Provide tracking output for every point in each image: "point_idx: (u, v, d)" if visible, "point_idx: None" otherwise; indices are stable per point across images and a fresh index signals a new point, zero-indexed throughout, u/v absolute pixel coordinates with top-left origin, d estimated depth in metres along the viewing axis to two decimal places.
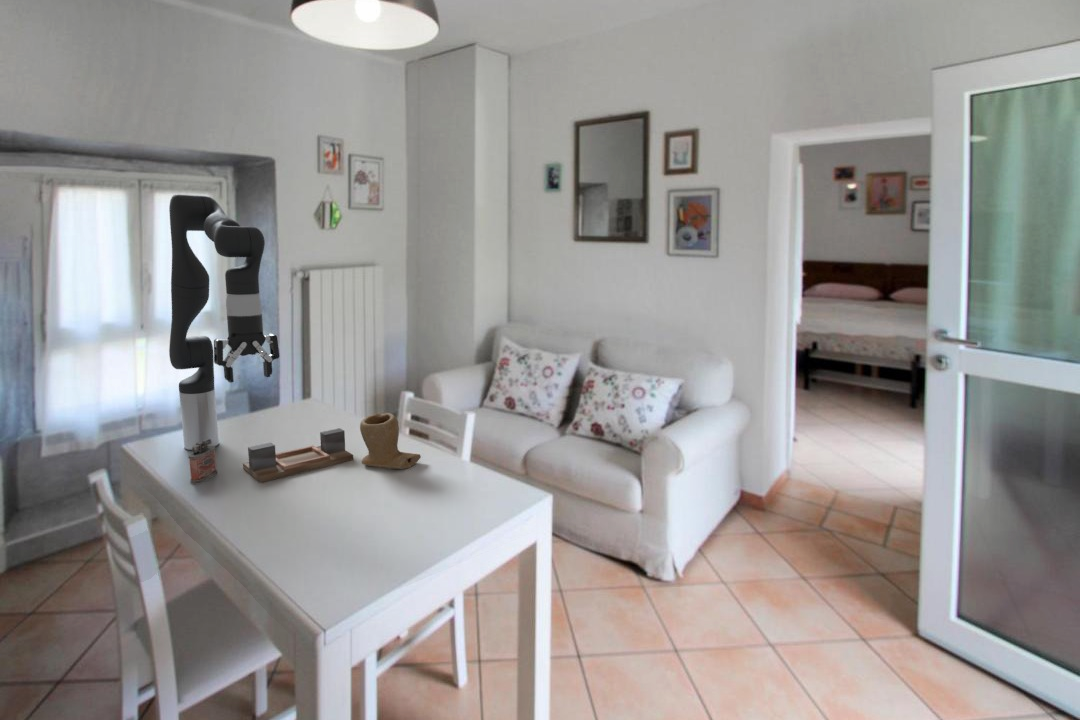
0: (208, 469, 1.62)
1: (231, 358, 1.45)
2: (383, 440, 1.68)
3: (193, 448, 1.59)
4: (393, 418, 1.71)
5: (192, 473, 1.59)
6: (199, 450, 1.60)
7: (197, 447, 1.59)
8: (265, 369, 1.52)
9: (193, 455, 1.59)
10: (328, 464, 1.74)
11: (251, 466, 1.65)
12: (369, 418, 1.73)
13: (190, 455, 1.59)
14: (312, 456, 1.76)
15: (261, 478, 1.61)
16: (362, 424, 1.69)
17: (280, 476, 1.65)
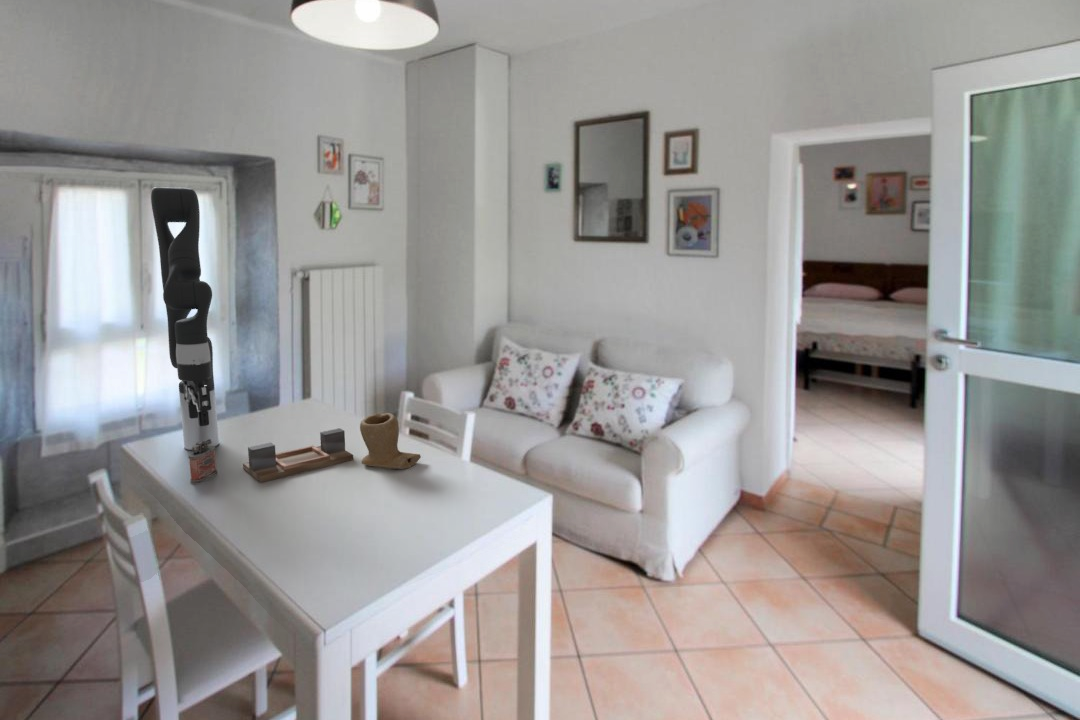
0: (208, 469, 1.62)
1: (207, 402, 1.57)
2: (383, 440, 1.68)
3: (193, 448, 1.59)
4: (393, 418, 1.71)
5: (192, 473, 1.59)
6: (199, 450, 1.60)
7: (197, 447, 1.59)
8: (193, 411, 1.62)
9: (193, 455, 1.59)
10: (328, 464, 1.74)
11: (251, 466, 1.65)
12: (369, 418, 1.73)
13: (190, 455, 1.59)
14: (312, 456, 1.76)
15: (261, 478, 1.61)
16: (362, 424, 1.69)
17: (280, 476, 1.65)
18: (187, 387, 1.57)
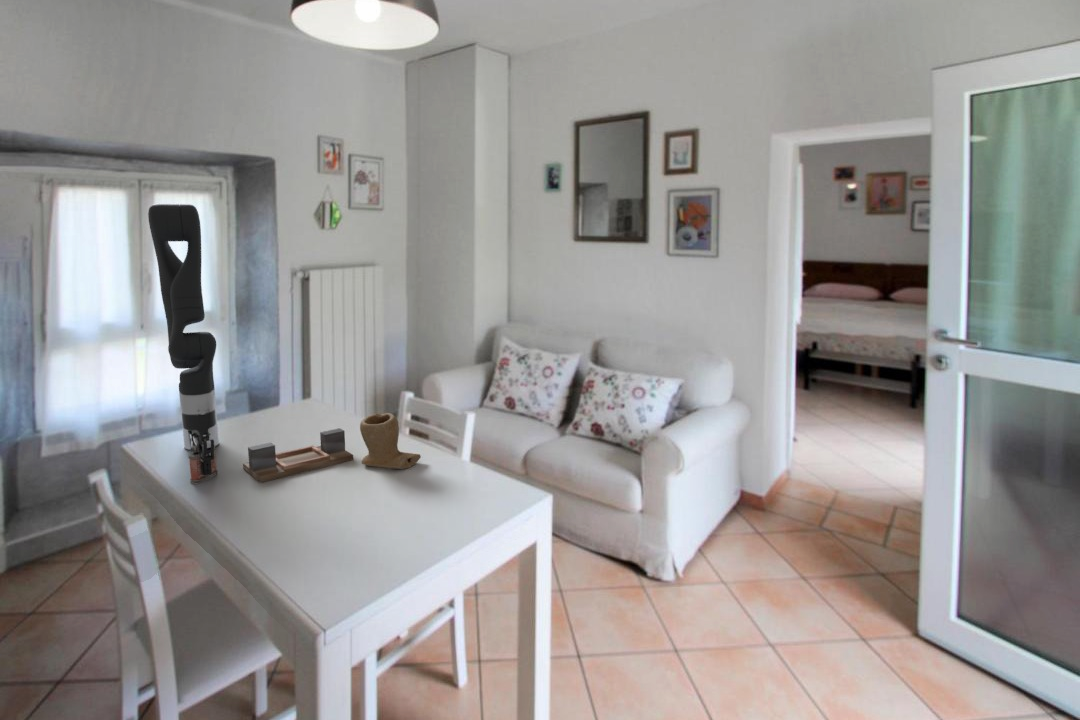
0: None
1: None
2: (383, 440, 1.68)
3: (193, 448, 1.59)
4: (393, 418, 1.71)
5: (192, 473, 1.59)
6: None
7: None
8: None
9: (193, 455, 1.59)
10: (328, 464, 1.74)
11: (251, 466, 1.65)
12: (369, 418, 1.73)
13: (190, 455, 1.59)
14: (312, 456, 1.76)
15: (261, 478, 1.61)
16: (362, 424, 1.69)
17: (280, 476, 1.65)
18: (191, 435, 1.60)
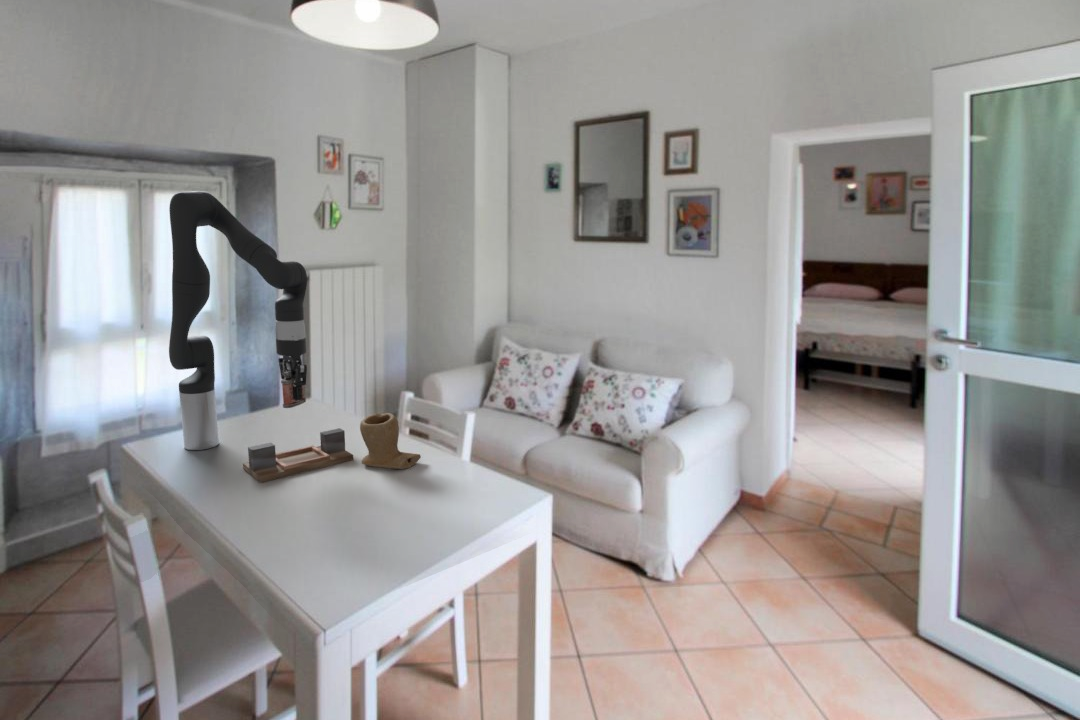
0: None
1: (302, 377, 1.68)
2: (383, 440, 1.68)
3: (286, 373, 1.66)
4: (393, 418, 1.71)
5: (285, 397, 1.66)
6: None
7: None
8: None
9: (286, 380, 1.66)
10: (328, 464, 1.74)
11: (251, 466, 1.65)
12: (369, 418, 1.73)
13: (283, 380, 1.66)
14: (312, 456, 1.76)
15: (261, 478, 1.61)
16: (362, 424, 1.69)
17: (280, 476, 1.65)
18: (284, 361, 1.68)
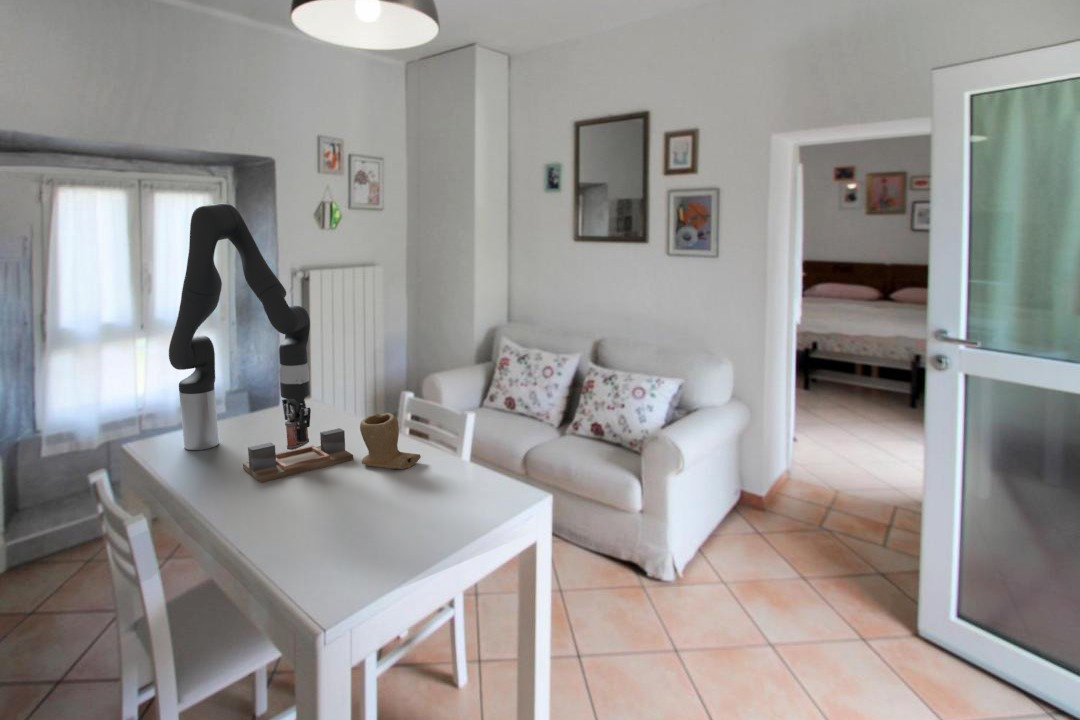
0: None
1: None
2: (383, 440, 1.68)
3: (289, 416, 1.69)
4: (393, 418, 1.71)
5: (289, 439, 1.69)
6: None
7: None
8: None
9: (290, 422, 1.69)
10: (328, 464, 1.74)
11: (251, 466, 1.65)
12: (369, 418, 1.73)
13: (287, 422, 1.69)
14: (312, 456, 1.76)
15: (261, 478, 1.61)
16: (362, 424, 1.69)
17: (280, 476, 1.65)
18: (288, 403, 1.70)
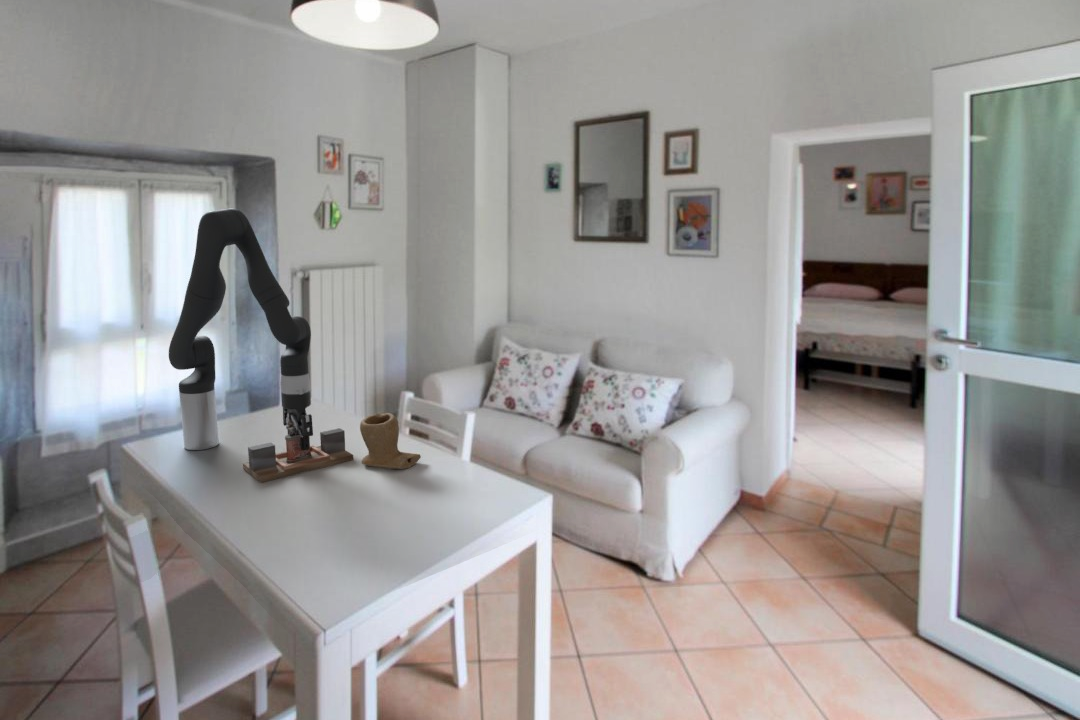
0: (302, 451, 1.73)
1: (308, 428, 1.70)
2: (383, 440, 1.68)
3: (289, 430, 1.70)
4: (393, 418, 1.71)
5: (288, 453, 1.70)
6: (295, 432, 1.71)
7: (293, 429, 1.71)
8: None
9: (289, 436, 1.70)
10: (328, 464, 1.74)
11: (251, 466, 1.65)
12: (369, 418, 1.73)
13: (286, 436, 1.70)
14: (312, 456, 1.76)
15: (261, 478, 1.61)
16: (362, 424, 1.69)
17: (280, 476, 1.65)
18: (289, 414, 1.71)
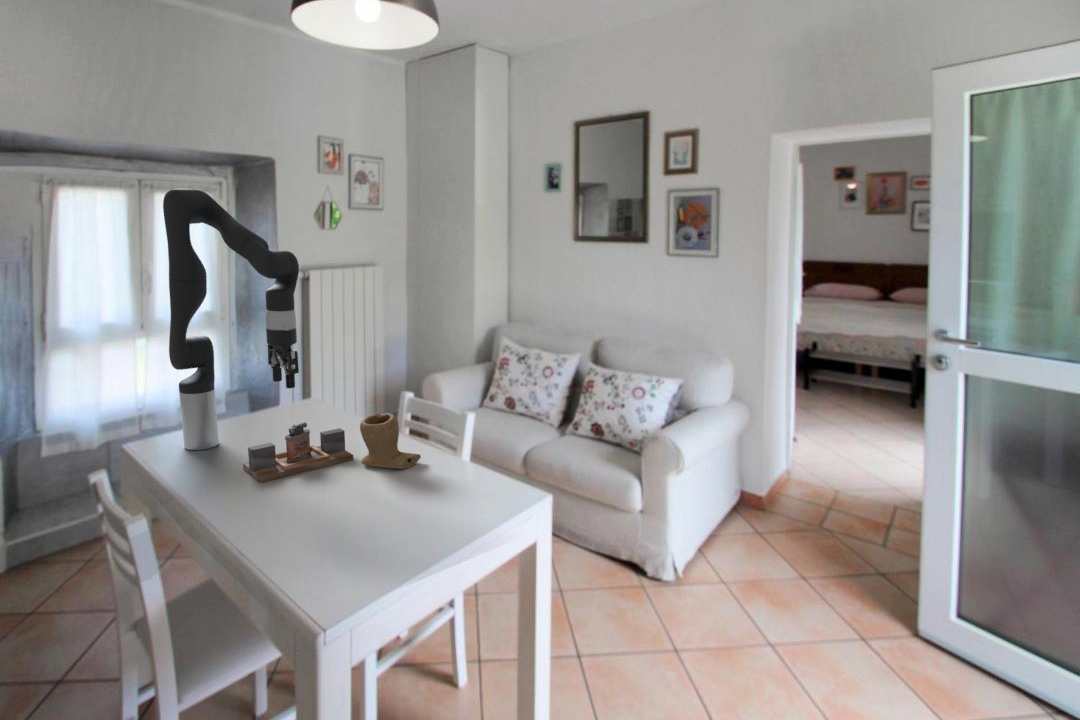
0: (302, 451, 1.73)
1: (293, 366, 1.67)
2: (383, 440, 1.68)
3: (289, 430, 1.70)
4: (393, 418, 1.71)
5: (288, 453, 1.70)
6: (295, 432, 1.71)
7: (293, 429, 1.71)
8: (277, 375, 1.72)
9: (289, 436, 1.70)
10: (328, 464, 1.74)
11: (251, 466, 1.65)
12: (369, 418, 1.73)
13: (287, 436, 1.70)
14: (312, 456, 1.76)
15: (261, 478, 1.61)
16: (362, 424, 1.69)
17: (280, 476, 1.65)
18: (274, 352, 1.67)
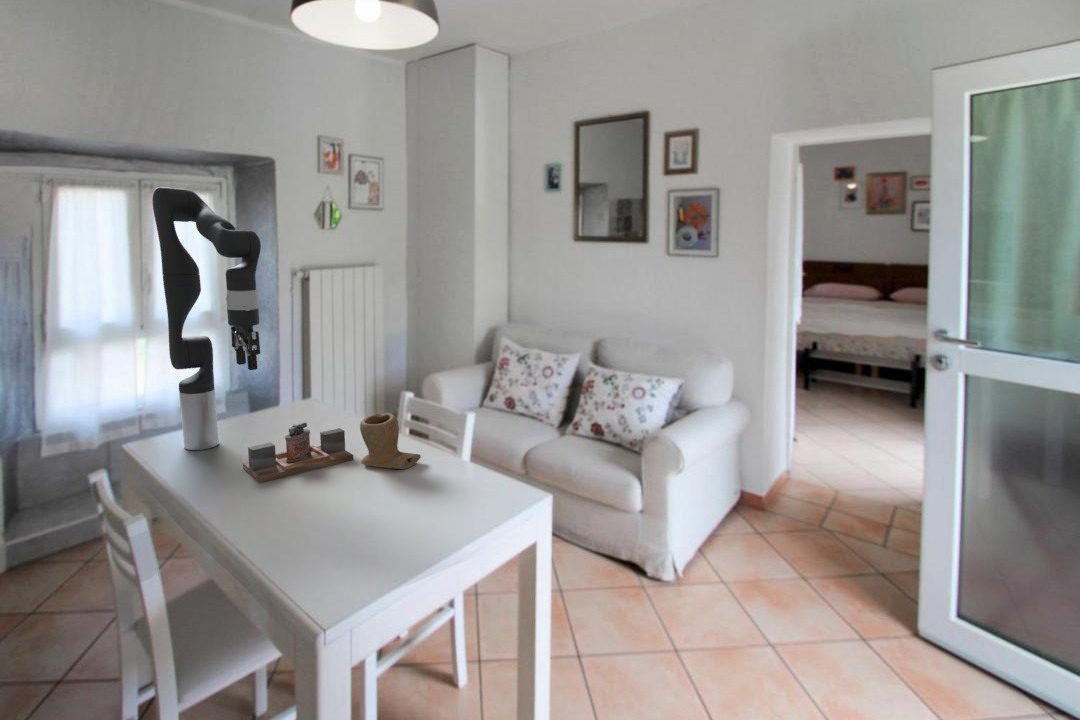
0: (302, 451, 1.73)
1: (255, 347, 1.64)
2: (383, 440, 1.68)
3: (289, 430, 1.70)
4: (393, 418, 1.71)
5: (288, 453, 1.70)
6: (295, 432, 1.71)
7: (293, 429, 1.71)
8: (241, 357, 1.69)
9: (289, 436, 1.70)
10: (328, 464, 1.74)
11: (251, 466, 1.65)
12: (369, 418, 1.73)
13: (287, 436, 1.70)
14: (312, 456, 1.76)
15: (261, 478, 1.61)
16: (362, 424, 1.69)
17: (280, 476, 1.65)
18: (236, 333, 1.65)
